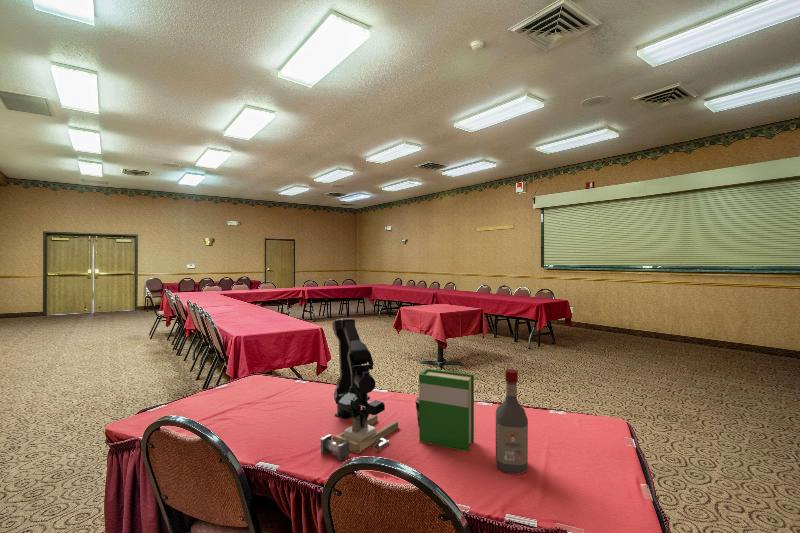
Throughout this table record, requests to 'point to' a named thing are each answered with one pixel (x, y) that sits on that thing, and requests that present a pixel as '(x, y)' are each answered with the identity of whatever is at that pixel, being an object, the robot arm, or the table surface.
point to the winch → (335, 447)
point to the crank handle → (382, 443)
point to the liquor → (511, 430)
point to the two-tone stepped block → (359, 430)
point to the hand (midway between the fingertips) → (359, 426)
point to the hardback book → (446, 408)
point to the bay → (370, 440)
